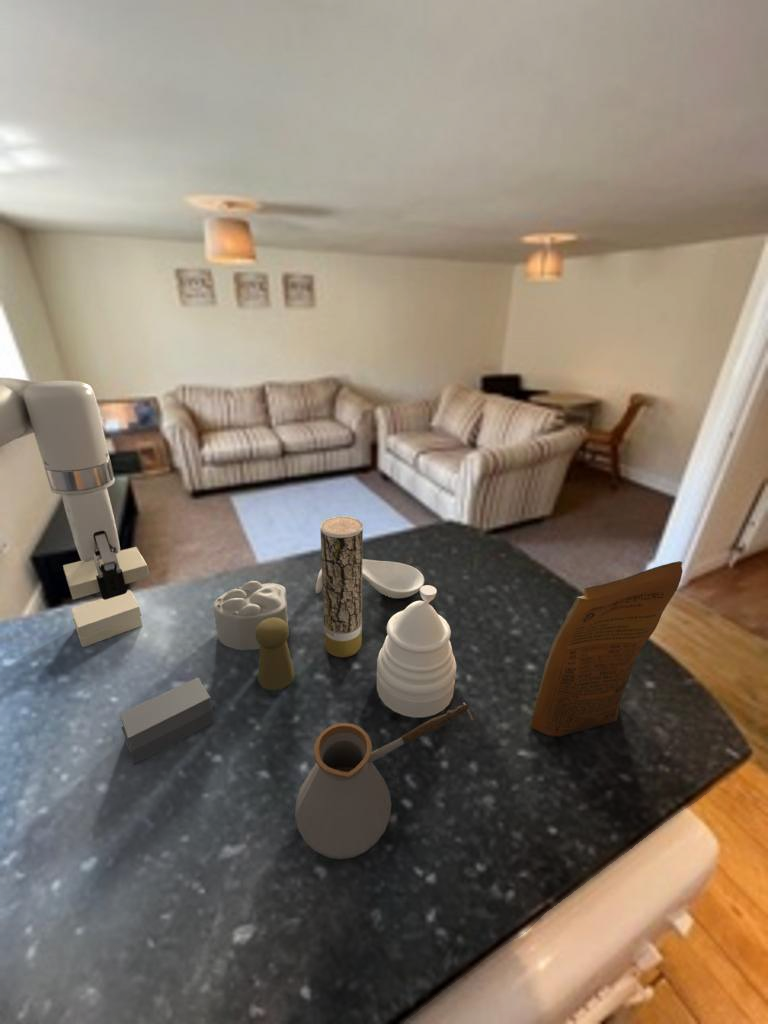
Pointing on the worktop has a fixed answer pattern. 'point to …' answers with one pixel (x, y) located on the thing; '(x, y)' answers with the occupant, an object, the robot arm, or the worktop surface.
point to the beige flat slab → (85, 573)
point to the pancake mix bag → (600, 650)
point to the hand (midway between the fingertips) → (109, 583)
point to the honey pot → (417, 660)
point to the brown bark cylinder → (342, 584)
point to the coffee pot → (350, 789)
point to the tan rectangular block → (106, 618)
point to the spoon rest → (388, 578)
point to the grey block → (166, 719)
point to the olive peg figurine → (274, 654)
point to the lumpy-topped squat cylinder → (248, 613)
